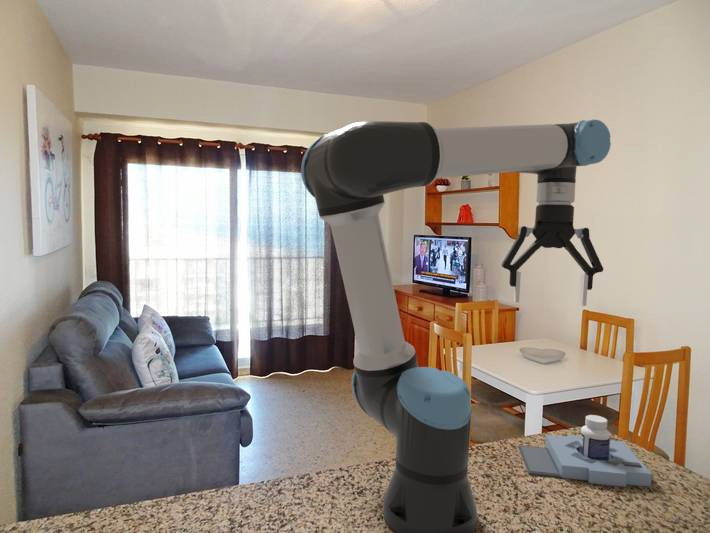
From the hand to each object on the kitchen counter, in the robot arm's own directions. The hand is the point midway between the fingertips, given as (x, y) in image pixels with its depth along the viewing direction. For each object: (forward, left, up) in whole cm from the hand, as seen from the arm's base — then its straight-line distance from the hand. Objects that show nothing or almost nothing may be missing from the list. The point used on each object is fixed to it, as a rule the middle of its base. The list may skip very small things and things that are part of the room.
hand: (548, 303), depth 105 cm
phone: (-2, -8, -32) cm, 33 cm away
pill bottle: (+9, -7, -32) cm, 34 cm away
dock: (+9, -7, -32) cm, 34 cm away
